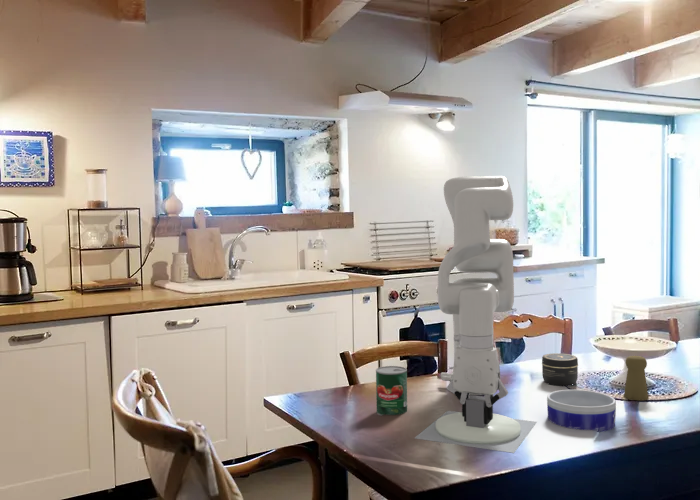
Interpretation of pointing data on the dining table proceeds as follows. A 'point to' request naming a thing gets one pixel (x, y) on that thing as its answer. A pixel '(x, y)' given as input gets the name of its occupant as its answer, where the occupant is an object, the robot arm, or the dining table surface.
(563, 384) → the jar
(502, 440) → the lid
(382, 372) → the canned tomato
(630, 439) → the dining table surface
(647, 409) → the dining table surface
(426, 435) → the mat
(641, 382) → the olive pawn
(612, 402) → the dog bowl
